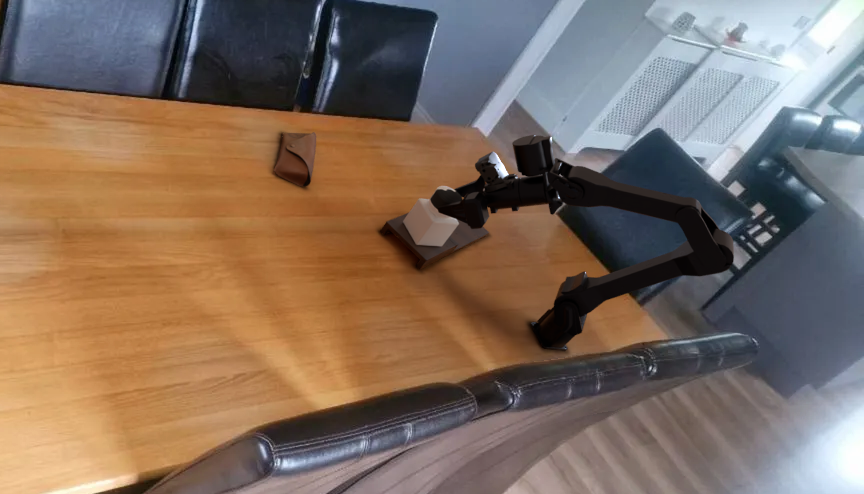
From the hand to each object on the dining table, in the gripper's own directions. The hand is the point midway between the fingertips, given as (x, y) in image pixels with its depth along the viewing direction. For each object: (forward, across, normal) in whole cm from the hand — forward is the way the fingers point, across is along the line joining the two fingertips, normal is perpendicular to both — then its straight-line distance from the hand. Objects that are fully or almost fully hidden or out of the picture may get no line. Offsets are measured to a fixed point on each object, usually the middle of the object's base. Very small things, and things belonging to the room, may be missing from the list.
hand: (444, 201), depth 145 cm
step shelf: (+7, -9, +11) cm, 16 cm away
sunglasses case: (+32, 0, -14) cm, 35 cm away
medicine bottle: (+7, 0, +7) cm, 10 cm away
